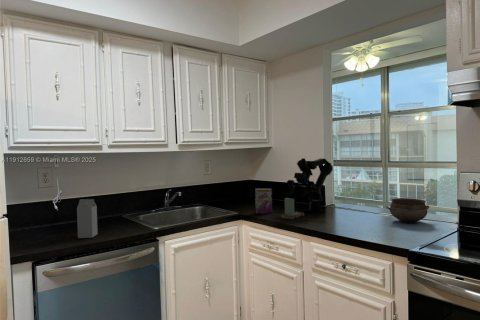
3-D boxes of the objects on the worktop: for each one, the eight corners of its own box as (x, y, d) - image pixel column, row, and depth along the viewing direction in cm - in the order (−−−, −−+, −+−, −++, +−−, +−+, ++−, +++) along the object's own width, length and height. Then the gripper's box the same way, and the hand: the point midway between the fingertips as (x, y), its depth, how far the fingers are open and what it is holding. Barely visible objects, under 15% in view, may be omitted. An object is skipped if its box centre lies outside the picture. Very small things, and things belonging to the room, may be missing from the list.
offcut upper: (291, 215, 203) (291, 212, 203) (300, 216, 199) (300, 213, 199) (288, 216, 200) (288, 213, 200) (296, 217, 196) (296, 214, 196)
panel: (286, 218, 198) (286, 197, 197) (294, 219, 194) (294, 198, 194) (284, 218, 196) (284, 198, 196) (292, 219, 193) (292, 199, 192)
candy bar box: (255, 214, 212) (254, 189, 211) (255, 212, 217) (255, 188, 216) (272, 214, 211) (271, 189, 210) (272, 212, 216) (271, 188, 215)
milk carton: (83, 234, 167) (82, 198, 167) (97, 234, 168) (96, 198, 167) (77, 238, 160) (76, 200, 160) (92, 237, 161) (91, 200, 160)
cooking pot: (417, 217, 192) (417, 197, 192) (440, 224, 174) (440, 202, 173) (378, 219, 190) (378, 198, 189) (397, 226, 171) (397, 204, 170)
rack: (293, 215, 206) (293, 211, 205) (304, 216, 200) (304, 212, 200) (281, 218, 196) (281, 214, 196) (292, 220, 190) (292, 216, 190)
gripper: (288, 167, 210) (278, 186, 203) (313, 168, 198) (304, 188, 190) (294, 178, 217) (285, 197, 209) (319, 179, 204) (311, 199, 196)
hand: (296, 195), depth 201 cm, fingers open, 9 cm apart
